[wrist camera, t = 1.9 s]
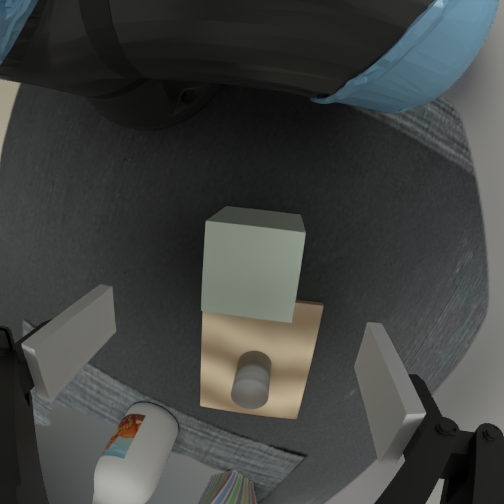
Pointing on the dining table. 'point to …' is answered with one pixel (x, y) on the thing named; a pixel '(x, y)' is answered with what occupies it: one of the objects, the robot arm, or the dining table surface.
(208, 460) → the dining table surface
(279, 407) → the post base
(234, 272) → the pale green block
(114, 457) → the milk bottle
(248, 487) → the vase
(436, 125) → the dining table surface
